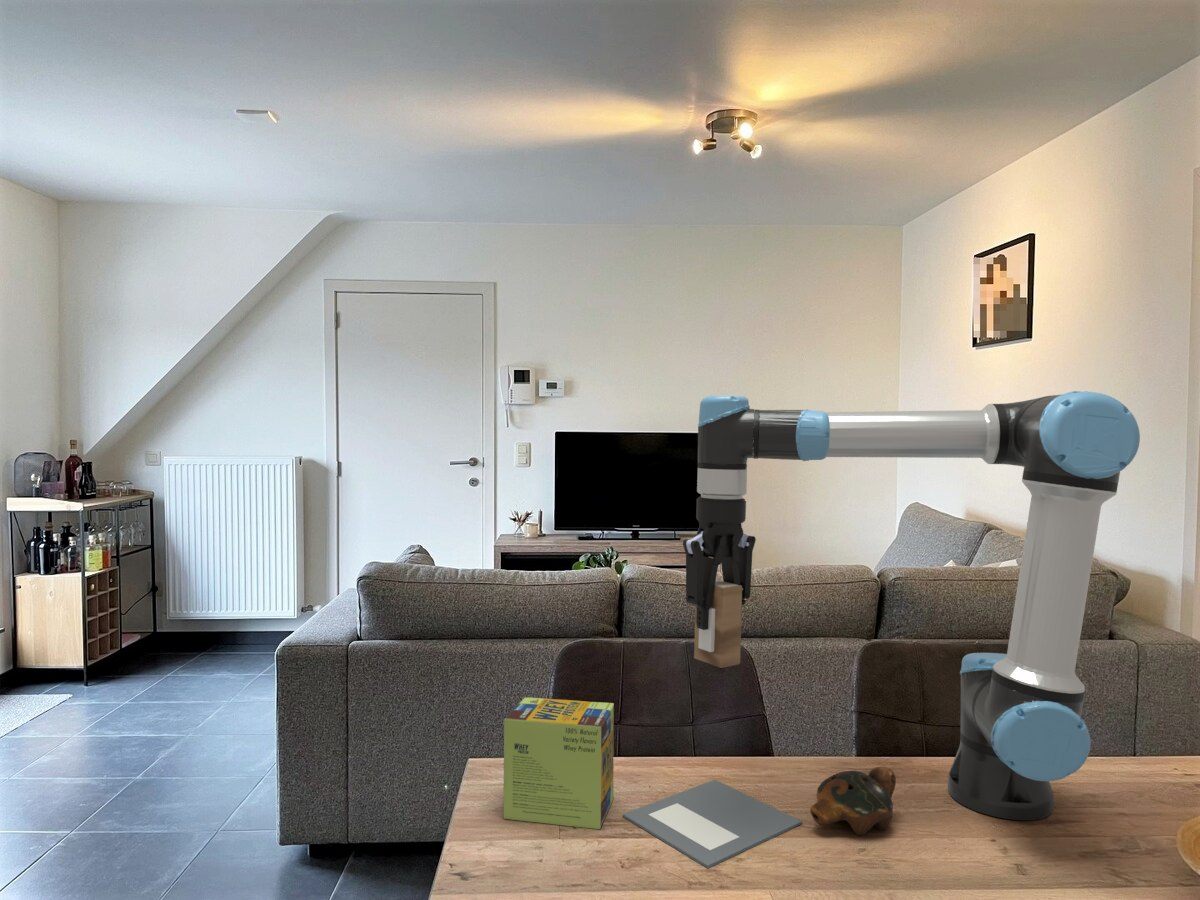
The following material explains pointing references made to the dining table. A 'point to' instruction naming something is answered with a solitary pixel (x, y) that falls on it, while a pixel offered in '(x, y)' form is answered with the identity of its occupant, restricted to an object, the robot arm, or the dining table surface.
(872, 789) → the decorative turtle
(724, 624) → the walnut block
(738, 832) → the mat
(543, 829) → the dining table surface
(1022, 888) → the dining table surface
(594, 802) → the protein box
